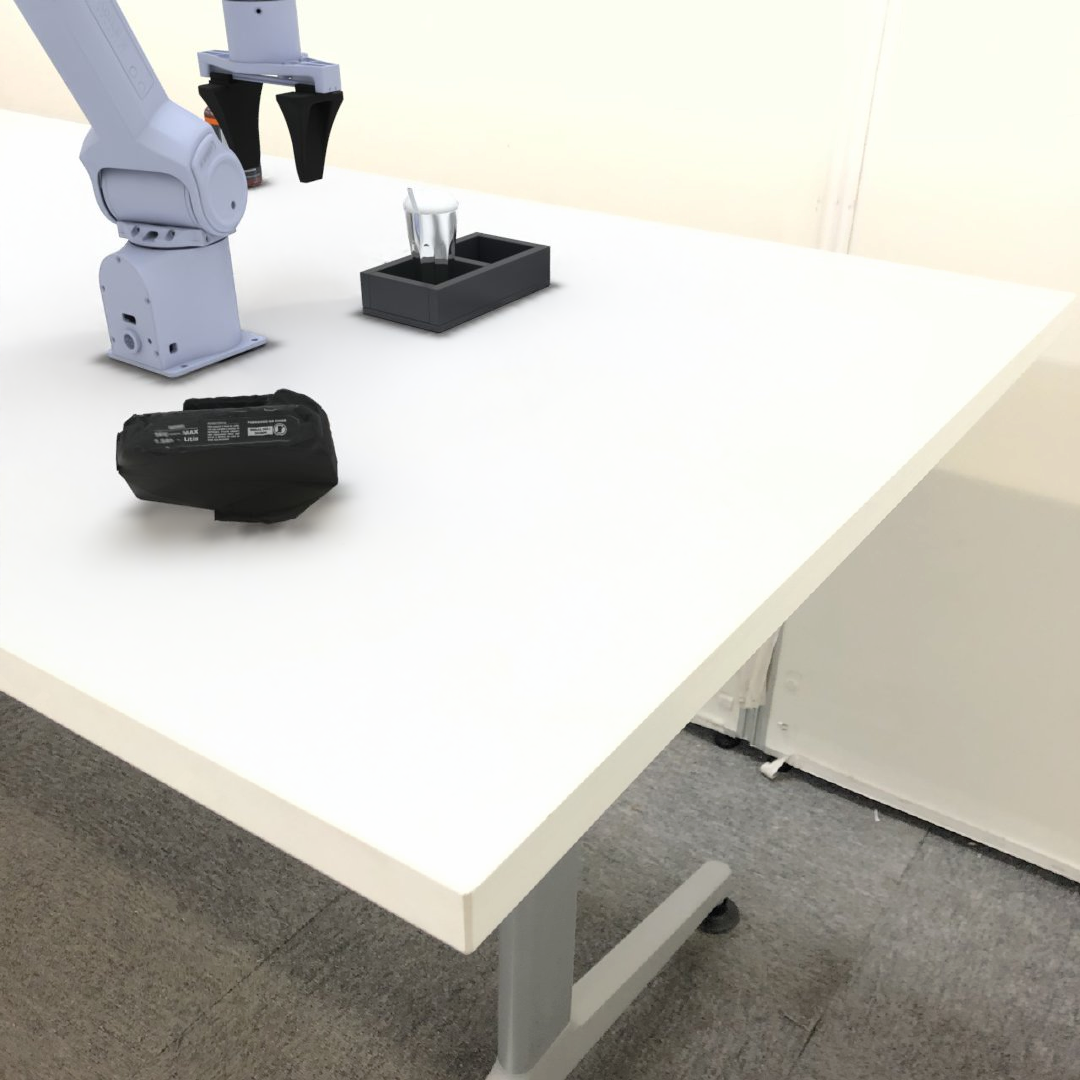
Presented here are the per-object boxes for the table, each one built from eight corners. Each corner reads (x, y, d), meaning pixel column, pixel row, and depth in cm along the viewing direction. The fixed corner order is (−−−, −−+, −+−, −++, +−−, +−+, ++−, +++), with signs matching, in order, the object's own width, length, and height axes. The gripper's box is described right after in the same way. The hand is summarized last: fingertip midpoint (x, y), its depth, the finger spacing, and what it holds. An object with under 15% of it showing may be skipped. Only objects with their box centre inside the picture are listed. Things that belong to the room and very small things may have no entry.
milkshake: (393, 305, 96) (385, 184, 91) (427, 288, 100) (421, 172, 95) (438, 313, 94) (432, 191, 89) (471, 295, 98) (467, 177, 93)
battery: (353, 534, 66) (345, 431, 69) (325, 473, 59) (318, 360, 61) (150, 561, 66) (150, 456, 69) (97, 503, 58) (99, 387, 61)
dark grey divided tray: (550, 285, 103) (550, 246, 101) (439, 333, 92) (437, 290, 90) (477, 269, 107) (476, 231, 106) (362, 313, 96) (359, 272, 94)
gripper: (361, -2, 88) (374, 176, 95) (234, -11, 95) (255, 155, 102) (295, 6, 83) (315, 193, 90) (167, -5, 90) (194, 169, 97)
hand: (279, 174), depth 96 cm, fingers open, 7 cm apart
